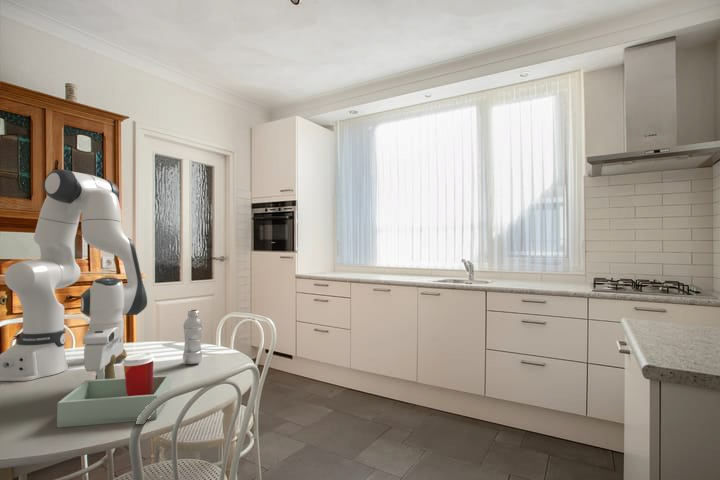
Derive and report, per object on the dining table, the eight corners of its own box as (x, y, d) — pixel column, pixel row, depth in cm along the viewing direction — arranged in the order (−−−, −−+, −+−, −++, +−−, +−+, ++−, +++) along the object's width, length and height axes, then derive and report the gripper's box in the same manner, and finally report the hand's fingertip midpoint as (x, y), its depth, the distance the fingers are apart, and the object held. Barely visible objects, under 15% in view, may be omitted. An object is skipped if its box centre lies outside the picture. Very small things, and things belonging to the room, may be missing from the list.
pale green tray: (56, 427, 93) (57, 402, 93) (85, 401, 108) (86, 380, 109) (156, 419, 98) (157, 395, 99) (170, 395, 114) (171, 375, 114)
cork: (104, 395, 113) (105, 357, 113) (87, 393, 114) (88, 356, 115) (121, 387, 119) (122, 352, 119) (105, 386, 120) (106, 351, 120)
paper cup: (143, 400, 110) (141, 351, 110) (162, 403, 107) (160, 353, 107) (116, 412, 103) (115, 359, 103) (136, 416, 100) (135, 362, 100)
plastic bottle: (197, 366, 141) (198, 312, 141) (179, 366, 141) (180, 311, 141) (204, 361, 147) (206, 309, 148) (187, 360, 148) (188, 309, 148)
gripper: (108, 324, 126) (106, 367, 126) (79, 339, 106) (78, 389, 106) (129, 324, 128) (128, 365, 128) (105, 338, 108) (103, 388, 108)
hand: (105, 376), depth 117 cm, fingers closed on cork, 5 cm apart
